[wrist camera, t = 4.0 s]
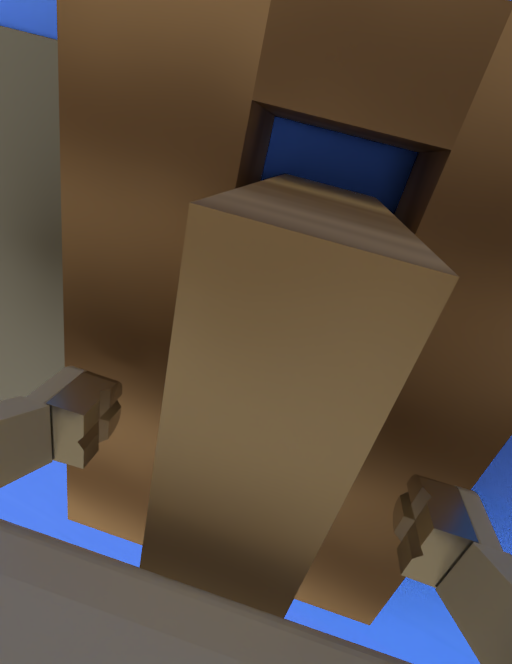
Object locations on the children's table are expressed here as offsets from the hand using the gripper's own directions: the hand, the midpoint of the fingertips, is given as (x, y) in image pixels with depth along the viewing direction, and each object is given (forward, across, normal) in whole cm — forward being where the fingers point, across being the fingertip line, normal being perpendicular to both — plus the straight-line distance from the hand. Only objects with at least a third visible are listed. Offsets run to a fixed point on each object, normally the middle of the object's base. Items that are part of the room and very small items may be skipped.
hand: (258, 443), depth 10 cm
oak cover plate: (+6, 0, 0) cm, 6 cm away
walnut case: (+5, 0, 0) cm, 5 cm away
